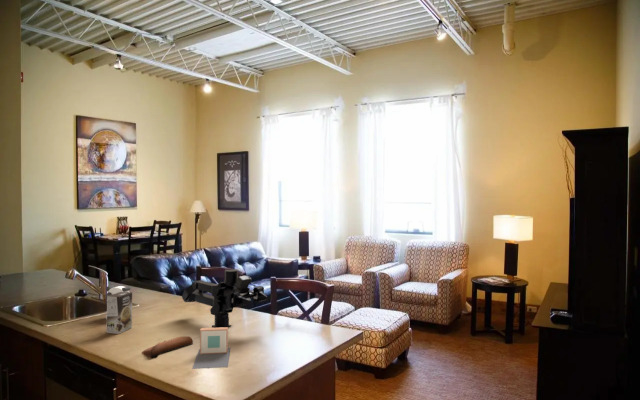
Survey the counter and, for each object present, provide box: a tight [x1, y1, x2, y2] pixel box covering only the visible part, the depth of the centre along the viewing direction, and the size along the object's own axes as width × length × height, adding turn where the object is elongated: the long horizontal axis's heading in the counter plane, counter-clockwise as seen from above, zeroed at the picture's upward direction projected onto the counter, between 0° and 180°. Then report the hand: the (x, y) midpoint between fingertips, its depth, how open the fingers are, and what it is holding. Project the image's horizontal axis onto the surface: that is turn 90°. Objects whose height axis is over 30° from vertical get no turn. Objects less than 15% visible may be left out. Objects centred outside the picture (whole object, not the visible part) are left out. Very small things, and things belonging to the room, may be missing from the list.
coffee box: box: [106, 291, 133, 335], centre depth 186 cm, size 9×6×16 cm
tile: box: [199, 327, 229, 354], centre depth 160 cm, size 3×10×9 cm, turn 99°
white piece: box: [105, 284, 131, 320], centre depth 207 cm, size 12×11×15 cm
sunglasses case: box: [141, 335, 194, 359], centre depth 164 cm, size 18×7×7 cm
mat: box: [191, 347, 232, 370], centre depth 155 cm, size 19×12×1 cm, turn 9°
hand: (259, 300), depth 176 cm, fingers open, 9 cm apart
